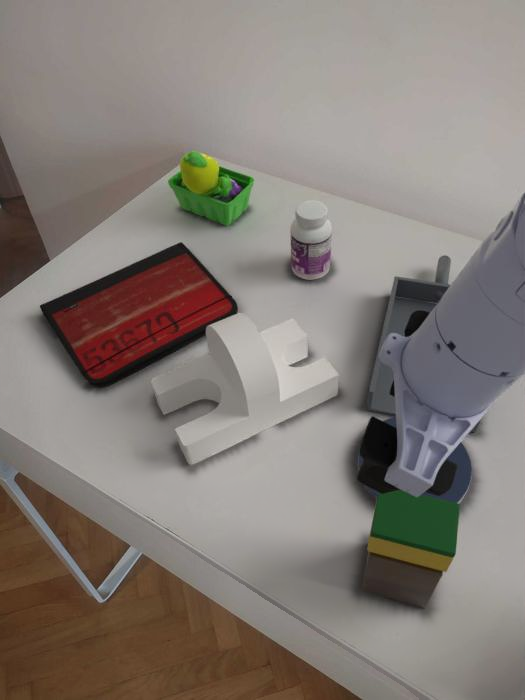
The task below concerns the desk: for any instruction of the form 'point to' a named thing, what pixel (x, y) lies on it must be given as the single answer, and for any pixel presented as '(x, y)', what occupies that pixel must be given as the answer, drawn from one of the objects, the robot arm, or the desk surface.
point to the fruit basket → (211, 188)
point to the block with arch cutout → (244, 384)
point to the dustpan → (397, 323)
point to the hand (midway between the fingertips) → (387, 437)
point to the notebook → (138, 314)
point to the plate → (460, 479)
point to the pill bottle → (311, 240)
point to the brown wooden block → (400, 579)
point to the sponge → (415, 529)
